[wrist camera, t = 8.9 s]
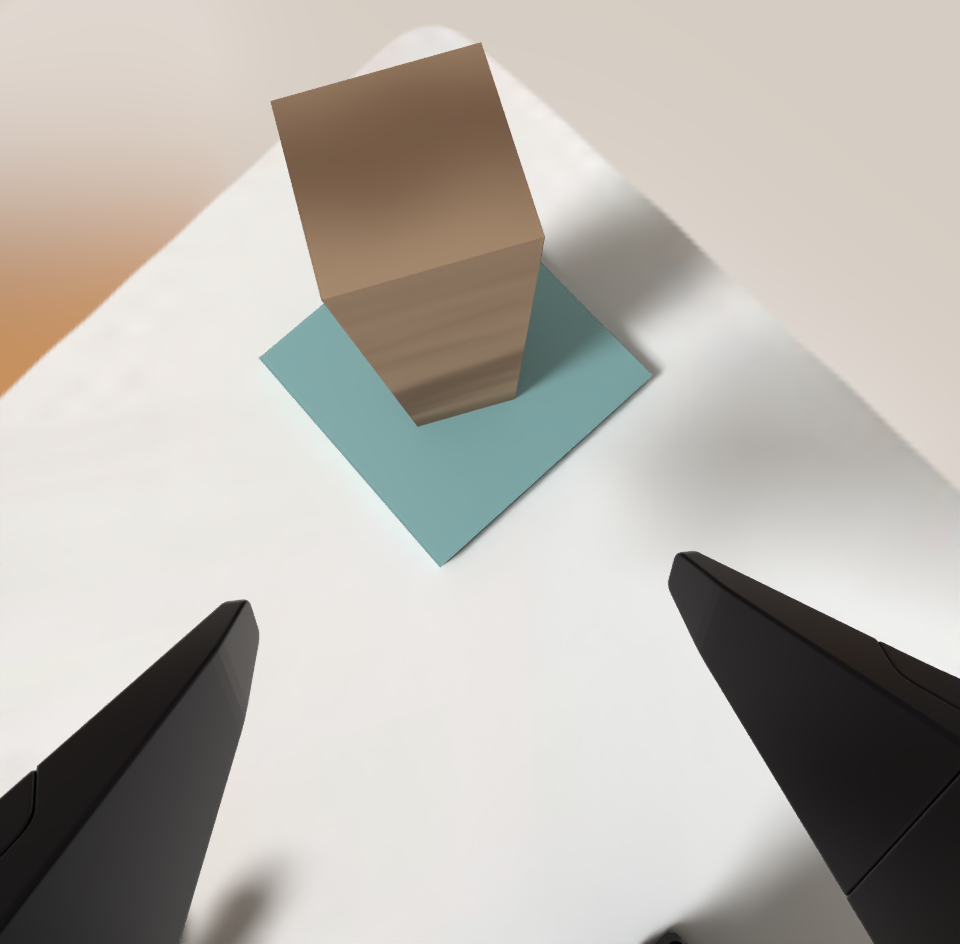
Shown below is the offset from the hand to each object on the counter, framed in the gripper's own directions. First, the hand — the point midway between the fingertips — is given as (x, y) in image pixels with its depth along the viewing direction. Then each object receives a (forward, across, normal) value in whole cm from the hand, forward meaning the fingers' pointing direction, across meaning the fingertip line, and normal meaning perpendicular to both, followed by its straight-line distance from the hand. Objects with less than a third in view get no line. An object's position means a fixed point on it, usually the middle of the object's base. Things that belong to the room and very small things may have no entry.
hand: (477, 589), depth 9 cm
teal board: (+16, -1, 0) cm, 16 cm away
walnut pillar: (+15, -1, -1) cm, 15 cm away
